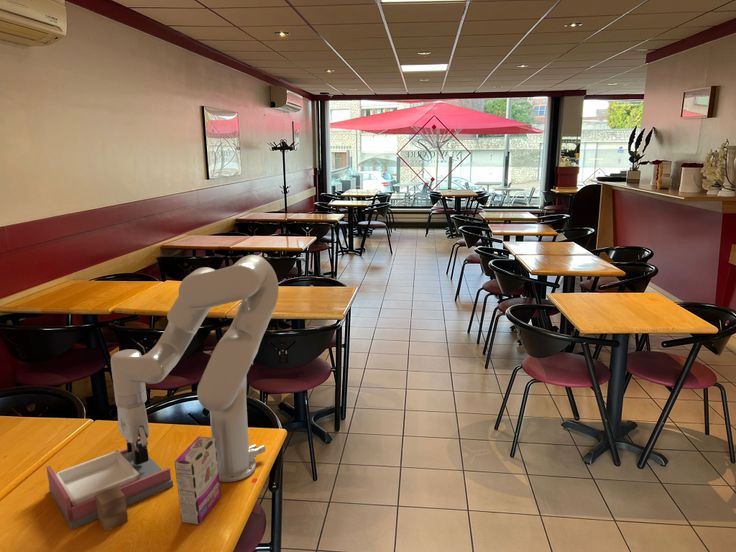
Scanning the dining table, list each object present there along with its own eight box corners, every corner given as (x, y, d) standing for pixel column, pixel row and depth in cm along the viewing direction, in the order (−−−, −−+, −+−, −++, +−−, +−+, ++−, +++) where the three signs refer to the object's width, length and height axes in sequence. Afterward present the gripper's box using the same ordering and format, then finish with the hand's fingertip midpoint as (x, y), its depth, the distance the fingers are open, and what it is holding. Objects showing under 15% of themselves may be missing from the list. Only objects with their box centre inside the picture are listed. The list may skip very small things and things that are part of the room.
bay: (143, 455, 153) (140, 431, 152) (173, 485, 139) (170, 459, 137) (49, 491, 137) (45, 465, 136) (71, 529, 123) (67, 501, 121)
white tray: (137, 456, 150) (134, 433, 148) (159, 480, 139) (157, 456, 137) (56, 487, 136) (52, 462, 135) (73, 516, 125) (69, 490, 124)
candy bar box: (203, 494, 135) (198, 435, 132) (221, 496, 134) (216, 437, 131) (179, 523, 125) (173, 460, 121) (199, 526, 124) (193, 462, 120)
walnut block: (120, 511, 129) (117, 485, 128) (128, 521, 126) (124, 495, 124) (98, 521, 126) (94, 494, 124) (105, 531, 122) (101, 504, 121)
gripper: (105, 390, 144) (113, 451, 149) (127, 412, 132) (135, 477, 136) (133, 382, 149) (140, 441, 154) (158, 402, 137) (164, 465, 141)
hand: (138, 457), depth 145 cm, fingers open, 4 cm apart
